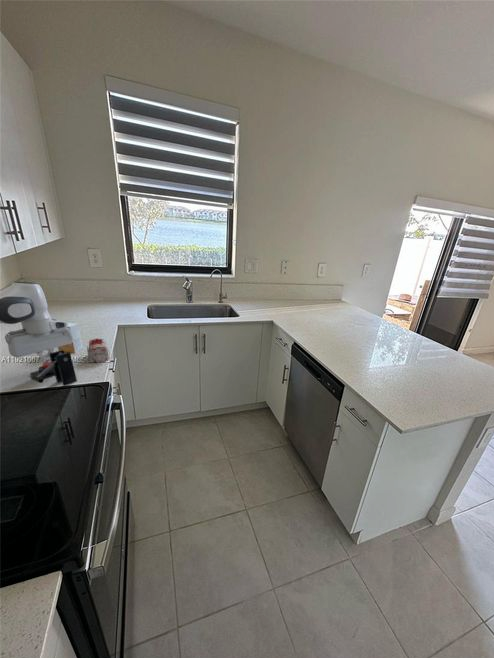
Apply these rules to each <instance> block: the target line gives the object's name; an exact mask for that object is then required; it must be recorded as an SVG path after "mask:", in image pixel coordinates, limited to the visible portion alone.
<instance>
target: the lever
mask: <svg viewBox="0 0 494 658" xmlns="http://www.w3.org/2000/svg"><path fill="white" fill-rule="evenodd" d="M60 354H63V353H61V352H60V353H58V354H57V355H60ZM57 355H56V356H57ZM56 356H55V357H54V359H55V361H54V362H52V363H51V364H50V365H49V366H48V367H47V368H46V369H45V370H44V371H42V372H41V373H40V374H39V375H38V376H34V375H33V376H32V375H30V378H31V380H33V381H34V382H38V383H40V384H42V383H44V379H41V378H42V377H43V376H44V375H46V374H47V373H48V372H49V371H50V370H51V369H52V368H53V367H54V366H55V365H57V360H56Z"/></svg>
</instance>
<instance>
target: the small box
mask: <svg viewBox="0 0 494 658" xmlns="http://www.w3.org/2000/svg"><path fill="white" fill-rule="evenodd" d="M66 323H67V328H69V329H70V331H71V334H72V337H73V342H72V343H71V344H68V345H64V346H60V347H57V349H58V351H61V350H63V351H64V353H68V352H69V353H70V354H76V353H78V352H80V351H82V350H83V349H84V344H83V340H82V336H81V331H80V327H79V326H80V325H79V323H74V322H73V323H72V322H66ZM82 348H83V349H82ZM81 349H82V350H81ZM79 350H80V351H79Z"/></svg>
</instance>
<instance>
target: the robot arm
mask: <svg viewBox="0 0 494 658" xmlns="http://www.w3.org/2000/svg"><path fill="white" fill-rule="evenodd" d="M48 306H49V305H48V302H47V298H46V295H45V293H44V290H43V289H42V287H41V286H40V284H38V283H37V282H31V281H30V282H29V281H13V282H12V283H11V284H10V286H8V288H6V289H5V290H3V291H1V292H0V324H4V325H15V324H18V323H21V327H22V328H21V329H17V330H10V331H9V332H8V333H6V334H5V336H4V340H5V342H6V344H7V349H8V352H9V355H10V356H12V357H14V358H21V357H25V356H30V355H34V354H35V355H37V356H38V357H40V359H41V361H42V362H43V363H46V362H51V359H50V355H49V354H50V353H53V352H55V350H54V349H56V348H58V347H60V346H64V345H68V344H71V343H72V342H73V337H72V334H71V331H70V329H69V328H67V323H68V322H67V321H64V320H61V319H55V318H52V317H51V315H50V313H49V311H48ZM45 351H47V355H44V352H45Z"/></svg>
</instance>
